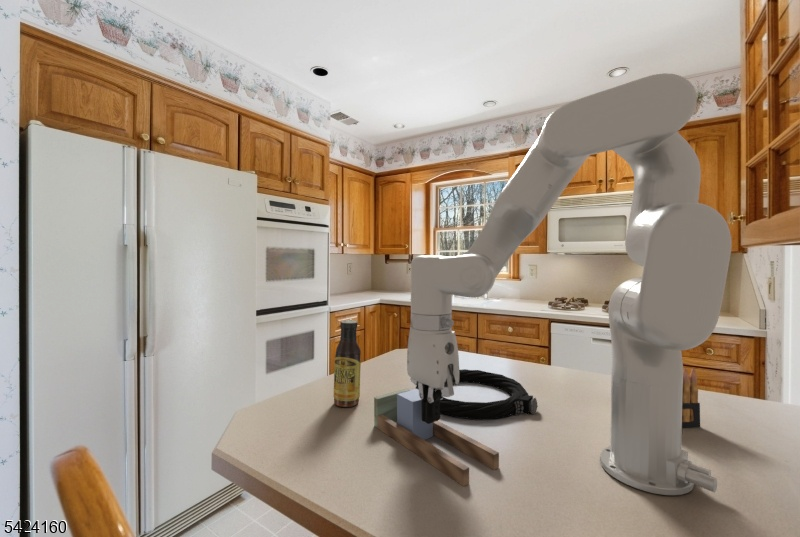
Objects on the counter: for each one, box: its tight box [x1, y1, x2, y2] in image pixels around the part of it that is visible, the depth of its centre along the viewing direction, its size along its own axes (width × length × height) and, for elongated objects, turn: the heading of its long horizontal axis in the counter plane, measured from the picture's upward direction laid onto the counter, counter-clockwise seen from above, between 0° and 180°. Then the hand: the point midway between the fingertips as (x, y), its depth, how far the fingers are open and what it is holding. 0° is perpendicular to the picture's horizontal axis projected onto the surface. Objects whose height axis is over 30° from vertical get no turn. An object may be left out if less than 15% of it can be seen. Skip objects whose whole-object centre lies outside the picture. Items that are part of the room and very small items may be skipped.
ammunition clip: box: [682, 368, 701, 429], centre depth 75 cm, size 11×2×12 cm, turn 93°
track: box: [373, 388, 500, 487], centre depth 68 cm, size 25×8×6 cm, turn 37°
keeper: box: [396, 388, 434, 441], centre depth 72 cm, size 5×5×8 cm
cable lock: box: [415, 368, 539, 420], centre depth 91 cm, size 28×4×30 cm
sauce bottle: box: [333, 319, 362, 408], centre depth 87 cm, size 6×6×20 cm
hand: (430, 420), depth 68 cm, fingers closed
